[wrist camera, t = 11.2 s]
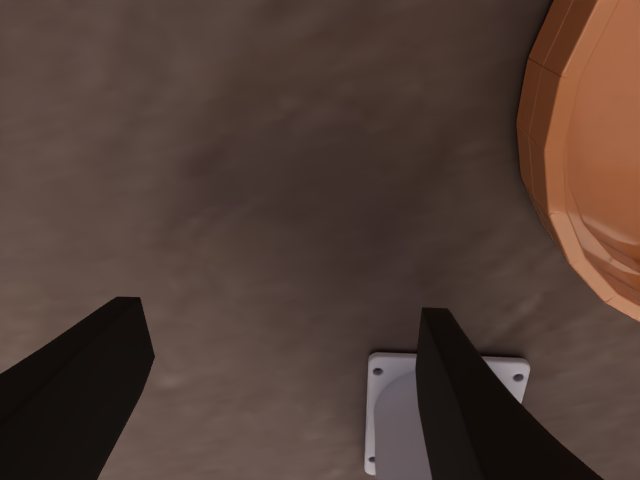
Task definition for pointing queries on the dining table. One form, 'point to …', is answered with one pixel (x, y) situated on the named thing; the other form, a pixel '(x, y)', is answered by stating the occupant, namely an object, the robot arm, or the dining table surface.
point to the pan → (587, 142)
